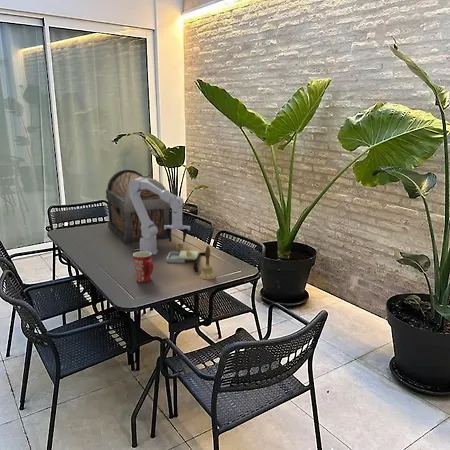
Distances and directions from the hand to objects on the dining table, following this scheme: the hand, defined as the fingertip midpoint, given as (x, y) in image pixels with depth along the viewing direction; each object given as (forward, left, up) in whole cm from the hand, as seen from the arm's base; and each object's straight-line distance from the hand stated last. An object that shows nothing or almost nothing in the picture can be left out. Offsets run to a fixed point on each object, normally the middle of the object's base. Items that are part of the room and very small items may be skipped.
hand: (177, 241), depth 237 cm
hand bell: (+20, -30, -9) cm, 37 cm away
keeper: (+8, -6, -8) cm, 13 cm away
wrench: (+15, -12, -9) cm, 21 cm away
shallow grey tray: (+1, -6, -8) cm, 10 cm away
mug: (-10, -38, -9) cm, 40 cm away
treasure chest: (-33, +45, -9) cm, 56 cm away
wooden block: (+1, +4, -9) cm, 9 cm away
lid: (+7, -6, -6) cm, 11 cm away
